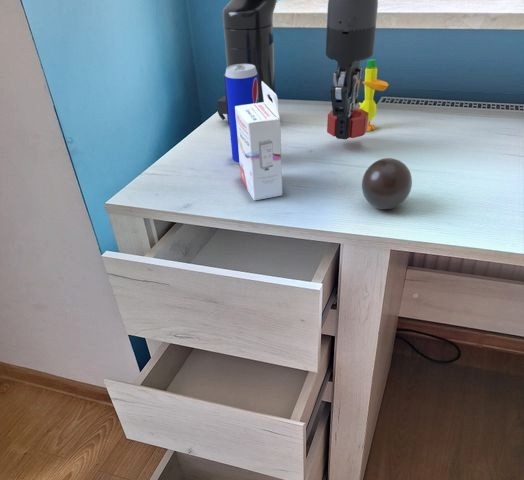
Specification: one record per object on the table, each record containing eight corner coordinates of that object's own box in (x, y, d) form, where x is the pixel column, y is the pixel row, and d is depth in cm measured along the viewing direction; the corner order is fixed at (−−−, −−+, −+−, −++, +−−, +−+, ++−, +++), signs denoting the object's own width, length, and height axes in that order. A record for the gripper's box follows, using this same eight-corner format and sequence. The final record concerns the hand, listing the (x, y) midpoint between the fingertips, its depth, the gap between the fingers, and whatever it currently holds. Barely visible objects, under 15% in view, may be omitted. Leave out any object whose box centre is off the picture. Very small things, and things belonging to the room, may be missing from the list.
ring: (323, 136, 92) (324, 118, 90) (333, 123, 97) (334, 106, 95) (361, 139, 90) (363, 121, 88) (369, 126, 95) (371, 109, 93)
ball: (355, 215, 75) (359, 167, 70) (364, 194, 80) (368, 148, 75) (405, 220, 73) (412, 172, 68) (411, 199, 78) (418, 152, 73)
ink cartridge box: (239, 180, 86) (231, 83, 76) (267, 175, 87) (263, 79, 77) (253, 201, 80) (246, 99, 70) (283, 196, 80) (281, 94, 71)
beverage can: (262, 165, 90) (258, 70, 80) (233, 167, 90) (224, 72, 80) (260, 154, 94) (256, 62, 84) (232, 156, 94) (224, 64, 84)
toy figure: (388, 131, 99) (396, 61, 92) (375, 136, 98) (382, 65, 90) (363, 123, 104) (368, 55, 96) (350, 127, 102) (354, 59, 94)
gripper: (338, 13, 86) (332, 121, 97) (316, 30, 76) (312, 148, 88) (383, 14, 83) (372, 125, 95) (366, 32, 74) (356, 153, 86)
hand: (343, 136), depth 91 cm, fingers closed on ring, 1 cm apart
